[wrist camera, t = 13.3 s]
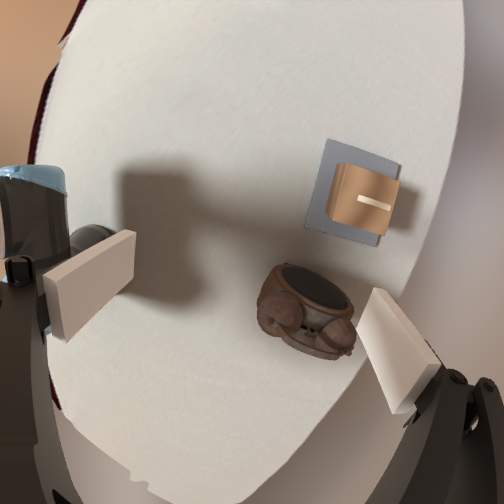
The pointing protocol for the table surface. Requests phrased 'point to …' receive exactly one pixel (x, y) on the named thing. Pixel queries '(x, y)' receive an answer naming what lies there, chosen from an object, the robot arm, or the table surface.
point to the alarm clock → (306, 312)
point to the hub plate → (330, 159)
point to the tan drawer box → (361, 198)
